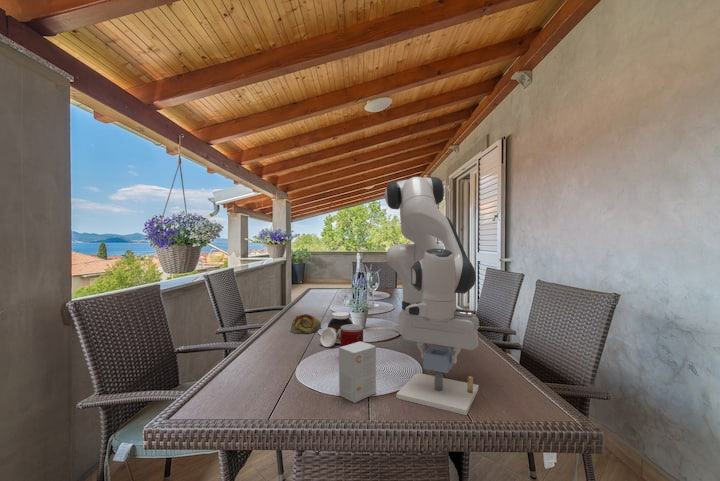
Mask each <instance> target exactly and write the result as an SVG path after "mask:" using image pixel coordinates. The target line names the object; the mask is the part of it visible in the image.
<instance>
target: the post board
mask: <svg viewBox="0 0 720 481" xmlns="http://www.w3.org/2000/svg"><path fill="white" fill-rule="evenodd" d="M467 384H468V382H465V381H460V380H456V379H455V380H454V379H452V378H451V379H450V378H444V372H438V371H434V375H430V374H425V373H420V372H416V373H415V374H414V375H413V376H412V377H411V378H410V379H409V380H408V381H407V382H406V383H405V384H404V385H403V386H402V387H401V388H400V389H399V390H398V391H397V392H396V399H398V400H402V401H407V402H410V403H414V404H419V405H423V406H426V407H429V408H430V407H431V408H434V409H435V408H436V409H440V410H443V411H447V412H451V413H456V414H460V415H464V416H467V415H468V413H469V411H470V408H471V406H472V404H473V403H474V400H475V398H476V396H477V393H478V392H479V384H475V383H473V393H468V392H467Z"/></svg>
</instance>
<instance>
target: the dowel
mask: <svg viewBox="0 0 720 481" xmlns="http://www.w3.org/2000/svg"><path fill="white" fill-rule="evenodd" d="M467 383H468V384H467V392H468V393H473V384H474V377H473V376H472V375H467Z"/></svg>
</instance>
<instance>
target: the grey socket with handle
mask: <svg viewBox="0 0 720 481" xmlns="http://www.w3.org/2000/svg"><path fill="white" fill-rule="evenodd" d="M425 351H426V352H425V353H424V354H423V358H422V359H423V361H422V363H423V366H422V367H423V369H424V370H427V371H434V372H435V371H438V372H443V374H444V373H445V374H449V372H450V370H451V369H452V368H453V367H454V364H452V363H450V356H451V355H454V349H452V350H451V347H449V346H442V348H439V347H433V346H430V347H429V348H428V349H427V350H425Z"/></svg>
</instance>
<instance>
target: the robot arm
mask: <svg viewBox="0 0 720 481" xmlns="http://www.w3.org/2000/svg"><path fill="white" fill-rule="evenodd" d="M445 190H446V188H445V185H444V183H443V180H442V179H440V177H436V176H435V177H434V176H430V177H422V176H413V177H410V178H409V179H404V180H398V181H396V180H395V181H392V182H389V183H388V184H387V185H386V188H385V191H384V200H385V202H386V204H387V206H388V207H389V208H390V209H391V210H399V219H400V229H401V230H400V232H401V234H402V236H403V237H404V238H405V239H407V240H408V241H411V242H412V243H399V244H393V245H390V247H389V248H388V249H387V251H386V256H385V257H386V262H387V264H388V265H389V266H390V267H391V268H392V269H393V270H394V271H395V272H396V273H397V275H398V277H399V278H400V280H401V286H402V300H401V311H399V313H398V321H397V327H395V332H397V333H398V334H399V335H400V336H402V338H403V340H404V341H409V342H410V341H412V342H416V347H417V348H418V350H419V351H420V358H421V359H423V354H424V353H425V352H426V351H427V350H426V348H425V347H424V345H425V344H430V345H435V346H436V345H437V346H442V347H443V346H449V347H450V348H453V352H454V354H453V355H451V356H450V363H452V364H453V365H456V364H457V363H458V362H457V360H458V359H457V357H458V355H459V354H460V352H461V351H462V349H463V350H468V351H469V350H470V351H475V349H476V348H477V347H478V345H479V335H478V330H479V328H480V320H479V317H478V316H477V315H475V314H474V313H473V312H464V311H458V310H457V309H456V308H457V307H456V306H457V301H456V300H457V297H456V294H461V295H462V294H464V295H465V294H467V292H469V291H470V290H471V289H472V288H473V287H474V286H475V285H476V281H477V276H476V270H475V268H474V265H473V263H472V262H471V261H470V259H469V257H468V256H467V254H466V251H465V249H464V247H463V244H462V242H461V240H460V238H459V236H458V235H459V234H458V233H457V231H456V228H455V227H454V224H453V222H452V220H451V218H449V217H448V216H446V215H444V213H443V212H442V211H440V209H439V208H438V205H439V204H441V203H442V202H443V200H444V197H445V193H446V192H445ZM433 237H434V238H436V239H437V240H439V241H441V243H442V244H443V246H442V245H440V244H439V243H437V242H436V240H434V238H433Z"/></svg>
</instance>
